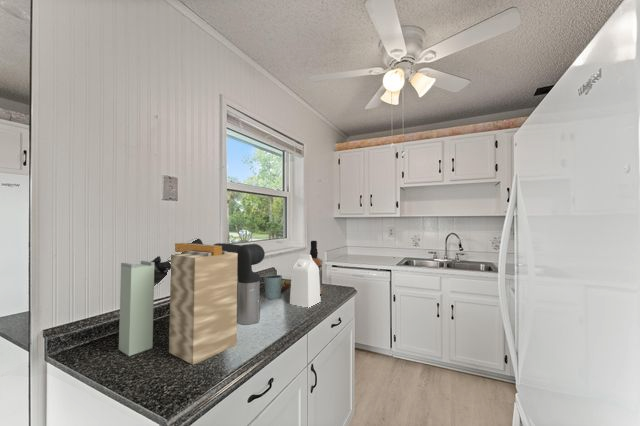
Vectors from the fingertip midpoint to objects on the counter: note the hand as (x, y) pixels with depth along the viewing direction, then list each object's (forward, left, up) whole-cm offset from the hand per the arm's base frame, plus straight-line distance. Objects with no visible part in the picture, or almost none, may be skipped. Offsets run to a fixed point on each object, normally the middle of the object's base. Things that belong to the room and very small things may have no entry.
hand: (171, 257), depth 104 cm
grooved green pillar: (+6, +11, -29) cm, 32 cm away
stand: (-17, +13, -29) cm, 36 cm away
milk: (-54, -35, -30) cm, 70 cm away
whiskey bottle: (-60, -54, -30) cm, 86 cm away
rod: (-13, +10, +3) cm, 17 cm away
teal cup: (-36, -49, -30) cm, 67 cm away
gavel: (-42, -66, -30) cm, 84 cm away
